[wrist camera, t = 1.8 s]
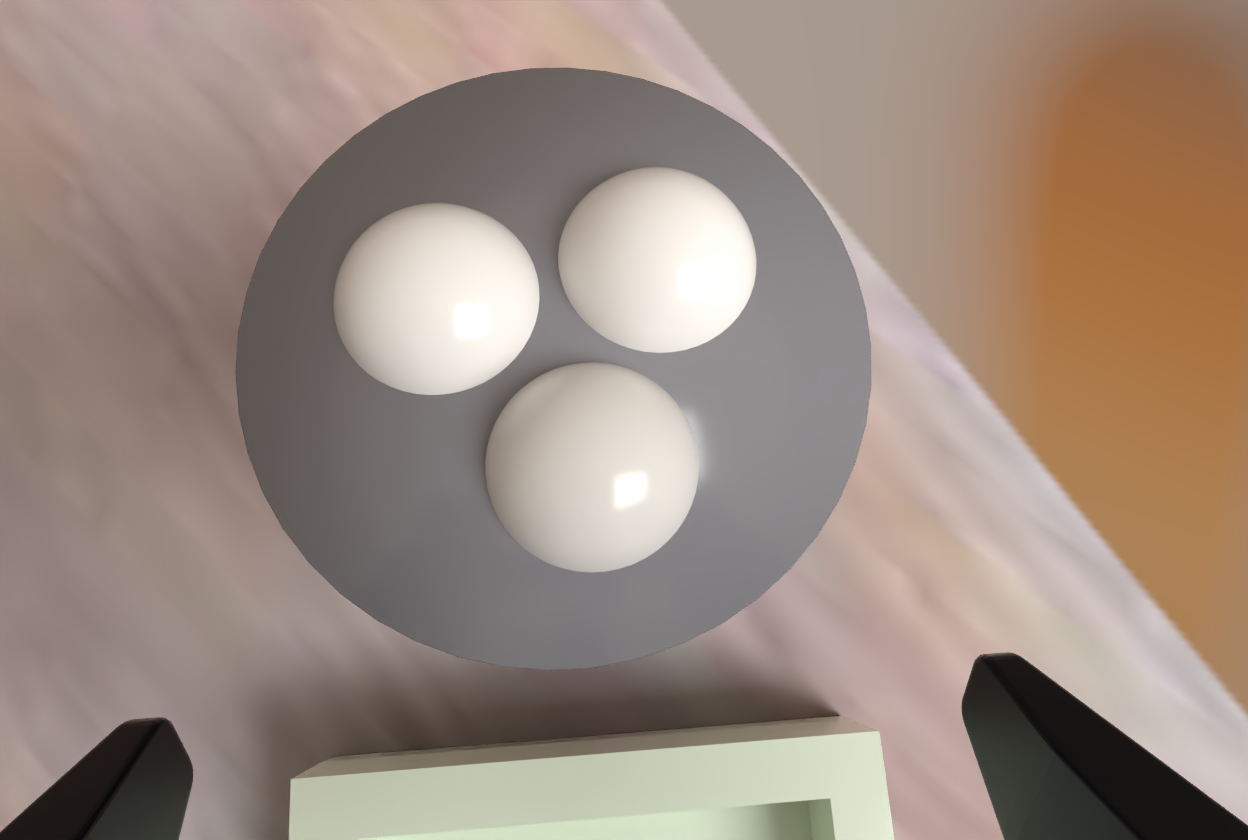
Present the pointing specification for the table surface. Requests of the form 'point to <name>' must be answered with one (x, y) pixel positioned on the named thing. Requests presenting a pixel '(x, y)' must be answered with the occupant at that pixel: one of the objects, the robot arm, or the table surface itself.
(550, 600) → the grey can
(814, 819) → the sage dish
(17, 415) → the table surface
